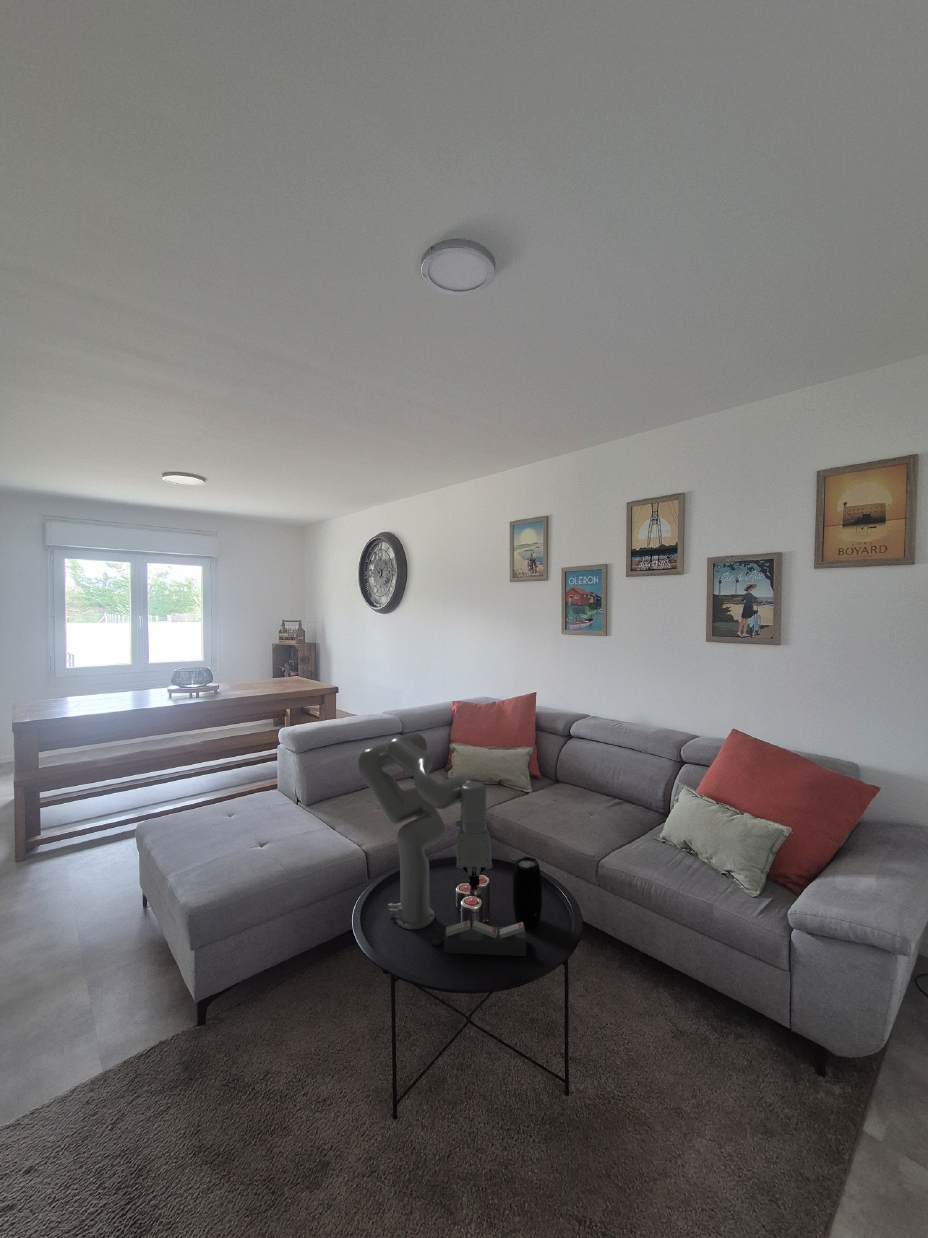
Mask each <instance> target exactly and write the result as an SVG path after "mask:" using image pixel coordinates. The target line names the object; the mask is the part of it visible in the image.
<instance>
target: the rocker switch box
mask: <svg viewBox="0 0 928 1238" xmlns="http://www.w3.org/2000/svg"><path fill="white" fill-rule="evenodd" d="M452 925H453V924H446V925H445V926H446V928H447V927H449V926H452ZM489 926H490V925H489ZM490 927H493V928H495V929H497V936H496V938H494V937H491V936H489V935H486V934H484V933H481V932H479V931H476V930H474V929H473V925H470V929H468V930H465V931H462V932H459V933H456V934H453V935H450V936H447V935H446V930H445V932H444V937H443V940H434V939H433V940H432V941H431V945H432V946H443V953H445V954H462V955H463V954H465V955H468V954H469V955H491V956H492V955H493V956H494V955H495V956H516V957H517V956H520V957H526V956H527V940H526V939H527V938H526V929H525V928H524V931H523V932H520V933H517V934H514V935H511V936H507V937H504V938H501V937H500V929H502V928H505V927H506V926H490ZM446 928H445V929H446Z"/></svg>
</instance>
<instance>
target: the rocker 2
mask: <svg viewBox="0 0 928 1238" xmlns="http://www.w3.org/2000/svg"><path fill="white" fill-rule="evenodd" d="M472 926H473V929H474V930H476V931H479V932H481V933H484V934H486V935H489V936H491V937H494V938H496V936H497V929H495V928H493V927H494V926H493V927H490V925H487V924H485V923H482V922H481V921H477V920H474V921H473V923H472Z"/></svg>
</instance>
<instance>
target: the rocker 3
mask: <svg viewBox="0 0 928 1238" xmlns="http://www.w3.org/2000/svg"><path fill="white" fill-rule="evenodd" d="M504 927H505V928H502V929H500V937H501V938H504V937H507V936H511V935H514V934H517V933H520V932H523V931H524V924H523V922H520V923H517V922H516V923H515V924H512V925H509V926H504Z"/></svg>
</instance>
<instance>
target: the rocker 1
mask: <svg viewBox="0 0 928 1238" xmlns="http://www.w3.org/2000/svg"><path fill="white" fill-rule="evenodd" d="M451 925H452V926H449V927H447V928H445V931H446V935H447V936H450V935H453V934H456V933H459V932H462V931H465V930H468V929H470V926H471V921H470V920H469V919H468V920H465V921H462V922H458V923H456V924H451Z"/></svg>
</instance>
